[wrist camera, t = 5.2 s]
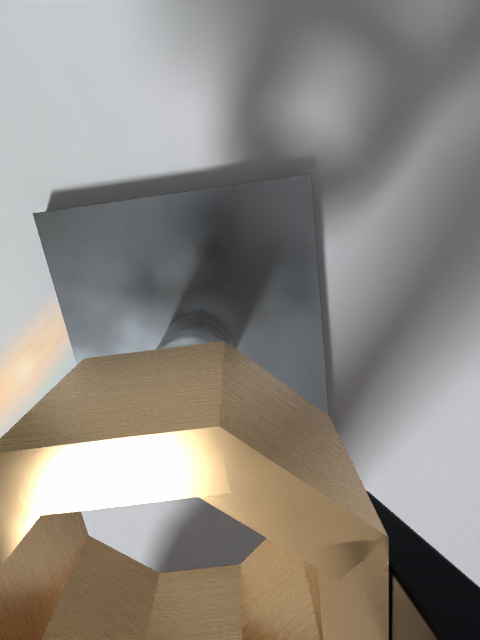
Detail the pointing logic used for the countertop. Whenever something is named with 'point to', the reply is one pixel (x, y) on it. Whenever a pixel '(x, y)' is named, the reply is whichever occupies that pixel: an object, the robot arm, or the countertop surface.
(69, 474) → the wooden ring
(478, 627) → the robot arm
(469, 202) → the countertop surface
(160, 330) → the grey peg base
